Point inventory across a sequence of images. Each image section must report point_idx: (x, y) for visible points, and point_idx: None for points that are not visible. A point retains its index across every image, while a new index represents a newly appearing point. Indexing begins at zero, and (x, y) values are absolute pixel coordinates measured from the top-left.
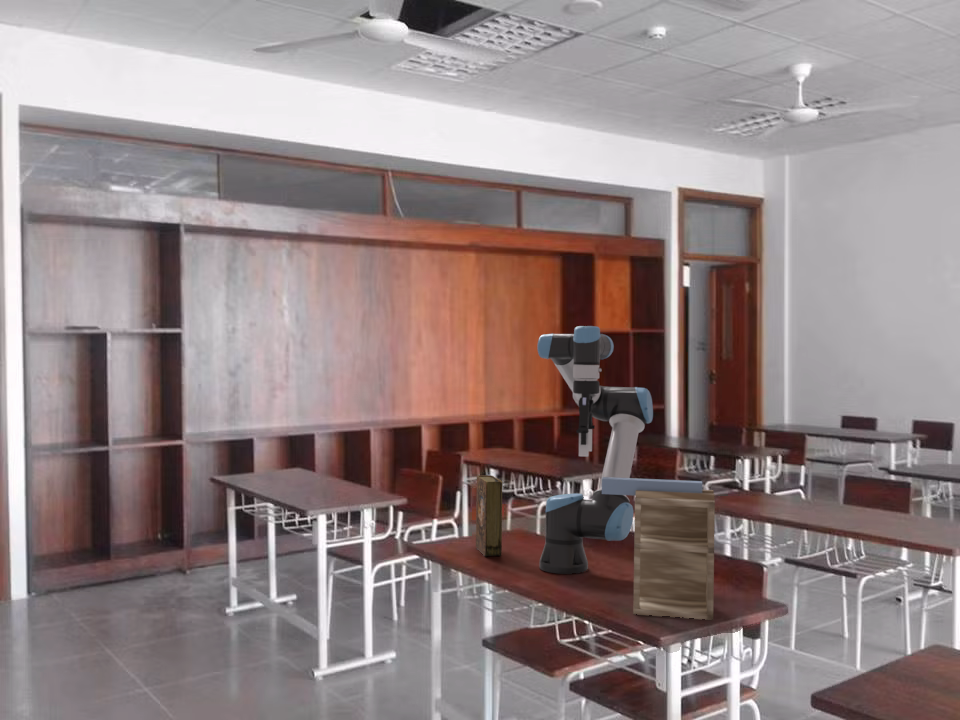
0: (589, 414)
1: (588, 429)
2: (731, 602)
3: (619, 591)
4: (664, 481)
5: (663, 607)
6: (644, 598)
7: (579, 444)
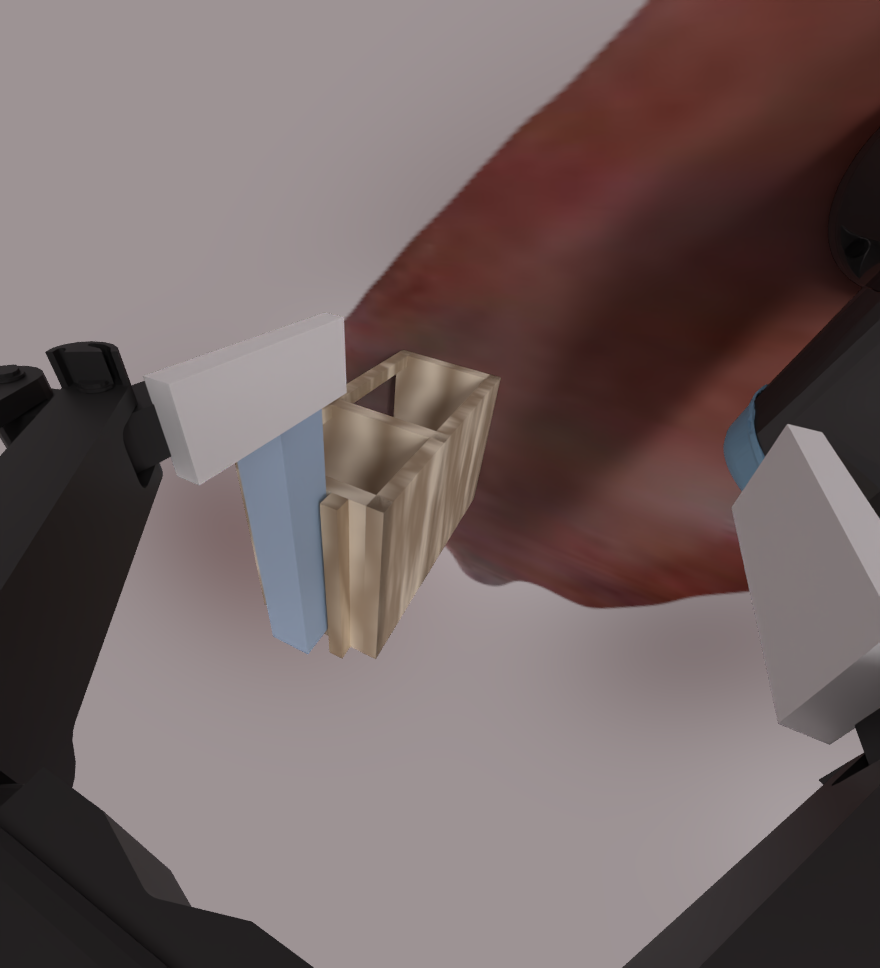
0: (66, 736)
1: (815, 688)
2: (496, 534)
3: (577, 355)
4: (262, 570)
5: (413, 410)
6: (469, 391)
7: (253, 344)
